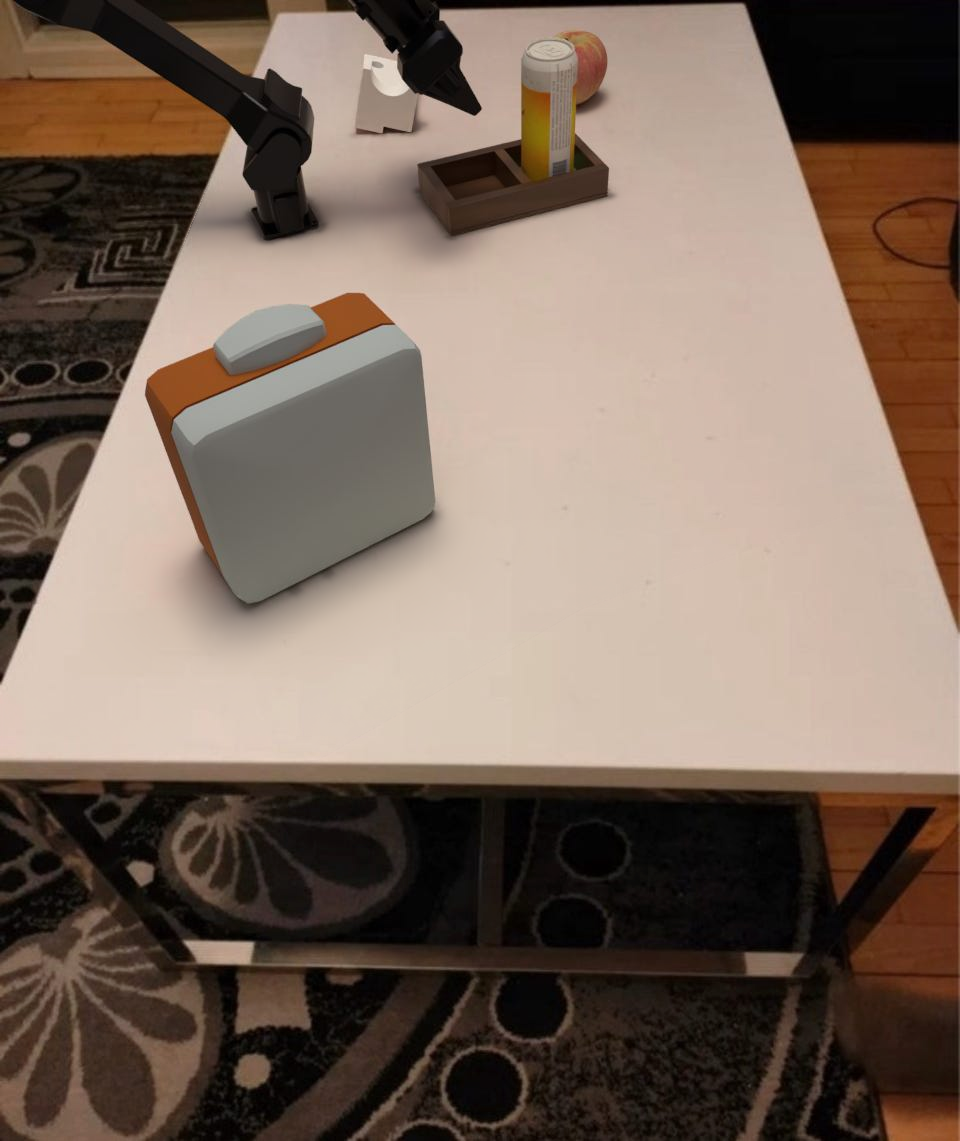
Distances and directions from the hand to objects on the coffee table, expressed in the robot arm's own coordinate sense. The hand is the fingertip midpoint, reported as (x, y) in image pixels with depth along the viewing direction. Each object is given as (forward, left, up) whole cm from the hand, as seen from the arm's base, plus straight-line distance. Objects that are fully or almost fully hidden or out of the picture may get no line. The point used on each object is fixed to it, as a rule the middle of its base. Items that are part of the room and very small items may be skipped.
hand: (469, 96), depth 107 cm
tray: (-1, +5, -13) cm, 14 cm away
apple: (-19, +21, -13) cm, 31 cm away
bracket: (-27, -1, -13) cm, 30 cm away
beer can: (-1, +10, -13) cm, 16 cm away
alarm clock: (+41, -31, -13) cm, 53 cm away
